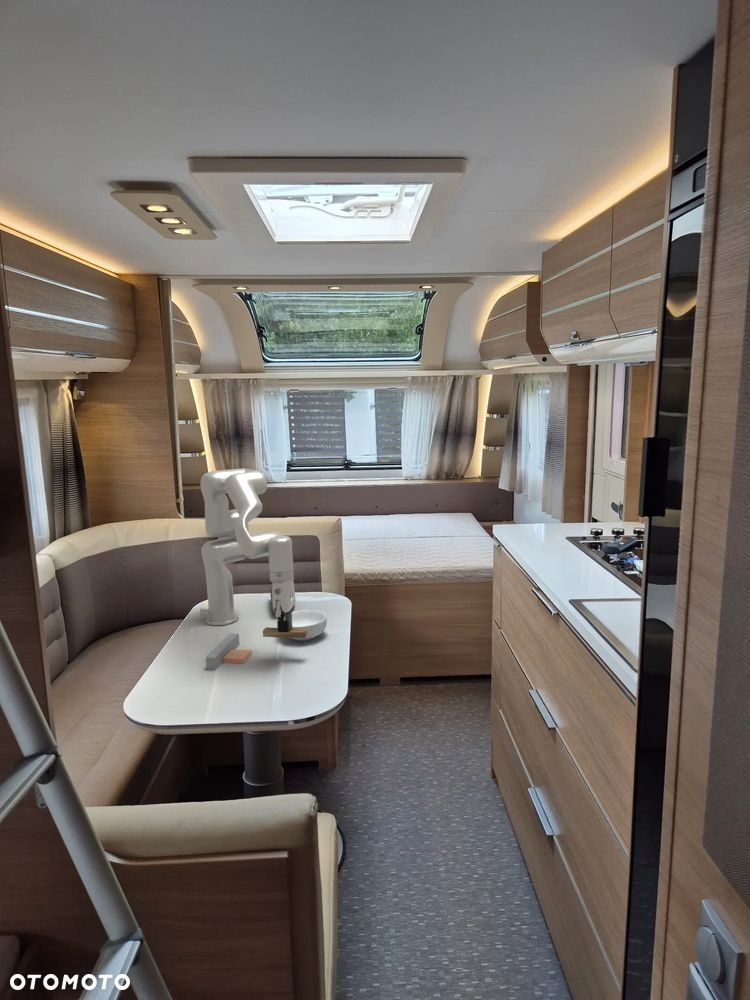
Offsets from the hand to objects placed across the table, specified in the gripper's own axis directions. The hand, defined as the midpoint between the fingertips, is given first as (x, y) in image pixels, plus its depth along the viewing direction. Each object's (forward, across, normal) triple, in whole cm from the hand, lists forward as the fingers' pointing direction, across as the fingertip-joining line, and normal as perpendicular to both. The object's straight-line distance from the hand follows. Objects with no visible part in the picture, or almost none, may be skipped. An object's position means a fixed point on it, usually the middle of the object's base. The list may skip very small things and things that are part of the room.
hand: (284, 629), depth 195 cm
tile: (+10, -2, +16) cm, 19 cm away
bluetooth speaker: (+10, +45, +15) cm, 49 cm away
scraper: (+2, 0, 0) cm, 2 cm away
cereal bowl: (+10, +18, -1) cm, 21 cm away
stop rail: (+10, -1, +21) cm, 23 cm away
